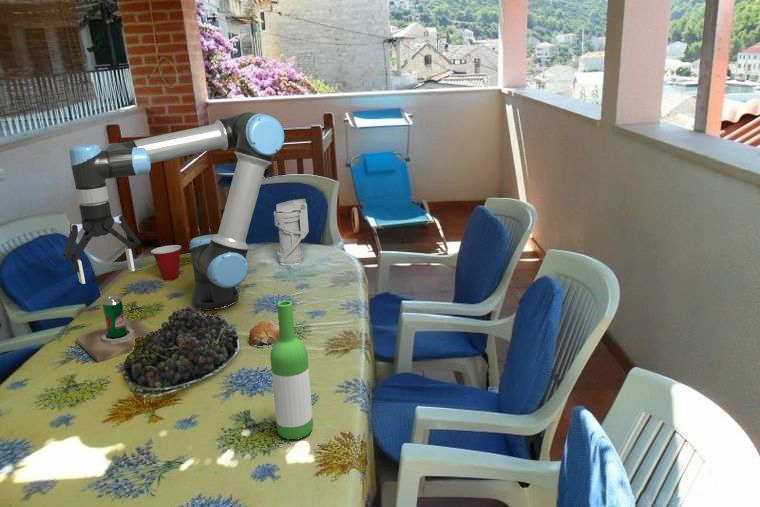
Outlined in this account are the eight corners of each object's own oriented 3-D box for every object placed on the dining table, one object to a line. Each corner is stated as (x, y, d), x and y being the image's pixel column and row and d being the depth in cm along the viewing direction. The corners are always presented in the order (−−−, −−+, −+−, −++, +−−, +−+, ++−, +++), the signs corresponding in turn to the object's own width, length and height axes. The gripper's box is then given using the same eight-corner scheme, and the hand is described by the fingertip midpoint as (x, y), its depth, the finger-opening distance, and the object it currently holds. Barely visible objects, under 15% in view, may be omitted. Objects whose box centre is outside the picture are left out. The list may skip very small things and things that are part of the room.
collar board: (137, 323, 187) (136, 316, 186) (162, 341, 175) (160, 333, 174) (76, 342, 176) (74, 334, 175) (98, 362, 163) (96, 354, 162)
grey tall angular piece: (278, 267, 235) (272, 205, 227) (277, 259, 245) (272, 199, 237) (311, 264, 237) (307, 202, 229) (309, 256, 247) (305, 197, 239)
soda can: (120, 341, 172) (113, 302, 168) (105, 340, 173) (98, 301, 169) (131, 333, 176) (124, 296, 173) (116, 332, 177) (109, 295, 174)
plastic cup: (173, 271, 234) (169, 242, 231) (191, 276, 228) (187, 246, 224) (149, 279, 226) (144, 249, 222) (166, 284, 220) (162, 253, 216)
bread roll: (288, 350, 175) (293, 323, 175) (269, 350, 165) (274, 321, 166) (260, 344, 179) (265, 318, 179) (239, 344, 169) (244, 316, 170)
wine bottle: (307, 443, 125) (297, 311, 116) (272, 440, 127) (259, 309, 118) (317, 422, 133) (308, 296, 123) (284, 419, 134) (272, 294, 125)
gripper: (134, 192, 173) (145, 262, 180) (39, 209, 157) (55, 284, 163) (144, 196, 168) (156, 267, 174) (48, 213, 152) (64, 291, 158)
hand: (107, 276), depth 169 cm, fingers open, 13 cm apart
